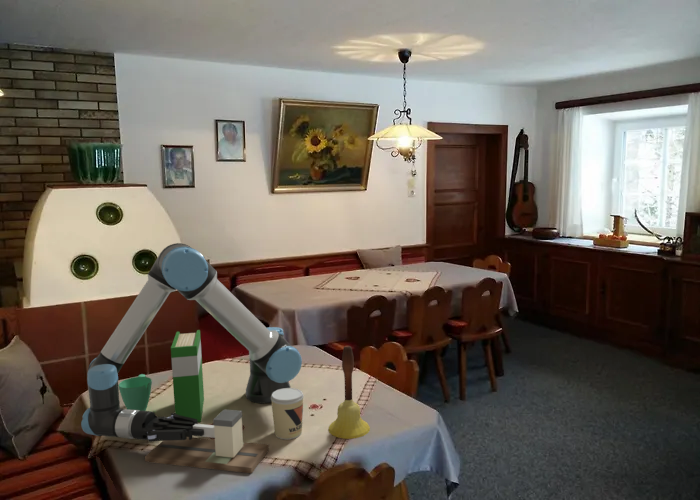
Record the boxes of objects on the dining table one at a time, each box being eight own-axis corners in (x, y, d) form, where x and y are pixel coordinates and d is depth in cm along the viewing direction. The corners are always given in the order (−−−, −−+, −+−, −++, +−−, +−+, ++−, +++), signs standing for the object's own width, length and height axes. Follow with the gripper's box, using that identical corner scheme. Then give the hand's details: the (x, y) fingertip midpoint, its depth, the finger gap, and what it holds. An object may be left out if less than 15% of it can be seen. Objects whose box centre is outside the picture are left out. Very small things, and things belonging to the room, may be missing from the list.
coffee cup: (291, 444, 151) (289, 402, 149) (265, 436, 156) (263, 396, 154) (311, 430, 159) (309, 391, 157) (285, 423, 164) (284, 385, 162)
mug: (150, 417, 169) (148, 387, 168) (117, 420, 168) (114, 389, 167) (159, 398, 184) (157, 370, 182) (129, 400, 182) (127, 372, 181)
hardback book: (181, 401, 181) (176, 331, 178) (204, 399, 183) (200, 329, 179) (175, 424, 164) (170, 348, 161) (201, 421, 166) (196, 346, 162)
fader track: (145, 461, 143) (144, 456, 143) (169, 440, 155) (169, 434, 154) (251, 473, 136) (251, 467, 136) (269, 449, 148) (268, 444, 148)
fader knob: (215, 455, 141) (213, 419, 140) (225, 444, 147) (223, 409, 146) (233, 457, 140) (231, 421, 139) (243, 446, 146) (241, 410, 145)
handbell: (337, 442, 151) (335, 356, 148) (322, 424, 163) (319, 343, 159) (377, 433, 156) (376, 349, 153) (359, 416, 167) (358, 337, 164)
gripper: (151, 426, 156) (228, 433, 151) (123, 449, 143) (206, 457, 138) (150, 401, 155) (226, 407, 150) (121, 422, 142) (204, 429, 137)
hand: (216, 431), depth 144 cm, fingers closed
